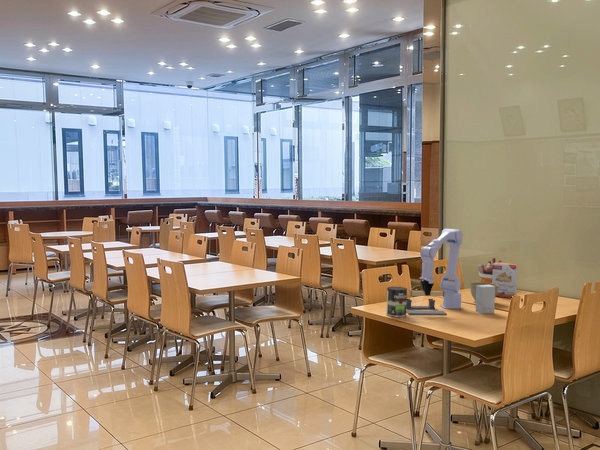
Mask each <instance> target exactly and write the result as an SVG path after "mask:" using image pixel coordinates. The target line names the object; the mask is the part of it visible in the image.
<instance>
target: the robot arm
mask: <svg viewBox="0 0 600 450" xmlns="http://www.w3.org/2000/svg"><path fill="white" fill-rule="evenodd" d="M463 235H464V234H463V232H462V230H461V229H457V228H456V229H455V228H443V230H441V234H440V236H439V237H438V238H437V239H436V238H435V239H432V240H431V242H430V243H429V244H427V245H426V246H423V247H421V250H420V253H419V254H420V259H421V261H422V262H421V263H422V264H421V277H419V279H420V281H419V282H420V284H421V287H422V291H425V295H426V296H425V297H431V296H430V293H431V291H432V288H433V287H434V285H435V282H434V262H435V261H434V259H435V258H436V256H437V253H438V251H439V250H440V249H441V248H442V247H443V246H442V245H443V244H444V243H447V244H448V245H449V251H448V261H447V266H446V267H447V268H446V273H445V274H444V275H442V276H441V281H440V283H439V285H440V286H439V287H440V288H441V291H445V295H444V297H443V296H442V304H440V307H442V308H444V309H447V310H448V309H454V310H457V309H460V310H461V309H462V293H461V292H460V289H461V278H460V277H459V276H458V275H457V270H458V262H459V254H460V246H461V245H462V244H463V237H464V236H463Z"/></svg>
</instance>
